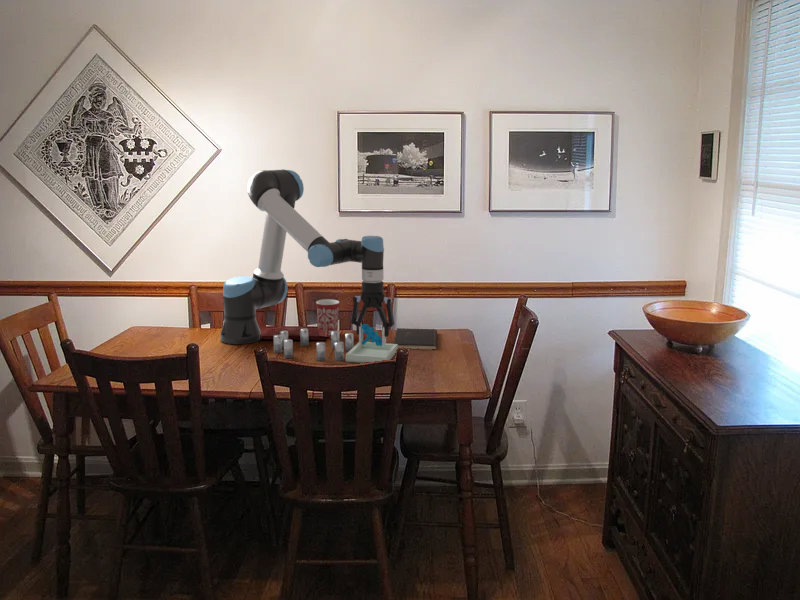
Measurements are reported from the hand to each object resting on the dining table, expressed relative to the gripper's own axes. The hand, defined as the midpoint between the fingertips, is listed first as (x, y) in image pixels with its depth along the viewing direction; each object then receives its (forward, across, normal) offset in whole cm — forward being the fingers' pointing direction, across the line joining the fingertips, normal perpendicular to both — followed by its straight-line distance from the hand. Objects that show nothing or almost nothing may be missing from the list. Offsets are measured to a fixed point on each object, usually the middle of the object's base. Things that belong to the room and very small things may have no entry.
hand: (372, 344), depth 254 cm
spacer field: (+4, -22, -1) cm, 23 cm away
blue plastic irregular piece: (0, 0, 0) cm, 0 cm away
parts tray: (+4, 0, 0) cm, 4 cm away
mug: (+4, -24, +24) cm, 34 cm away
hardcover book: (+5, +11, +24) cm, 27 cm away
